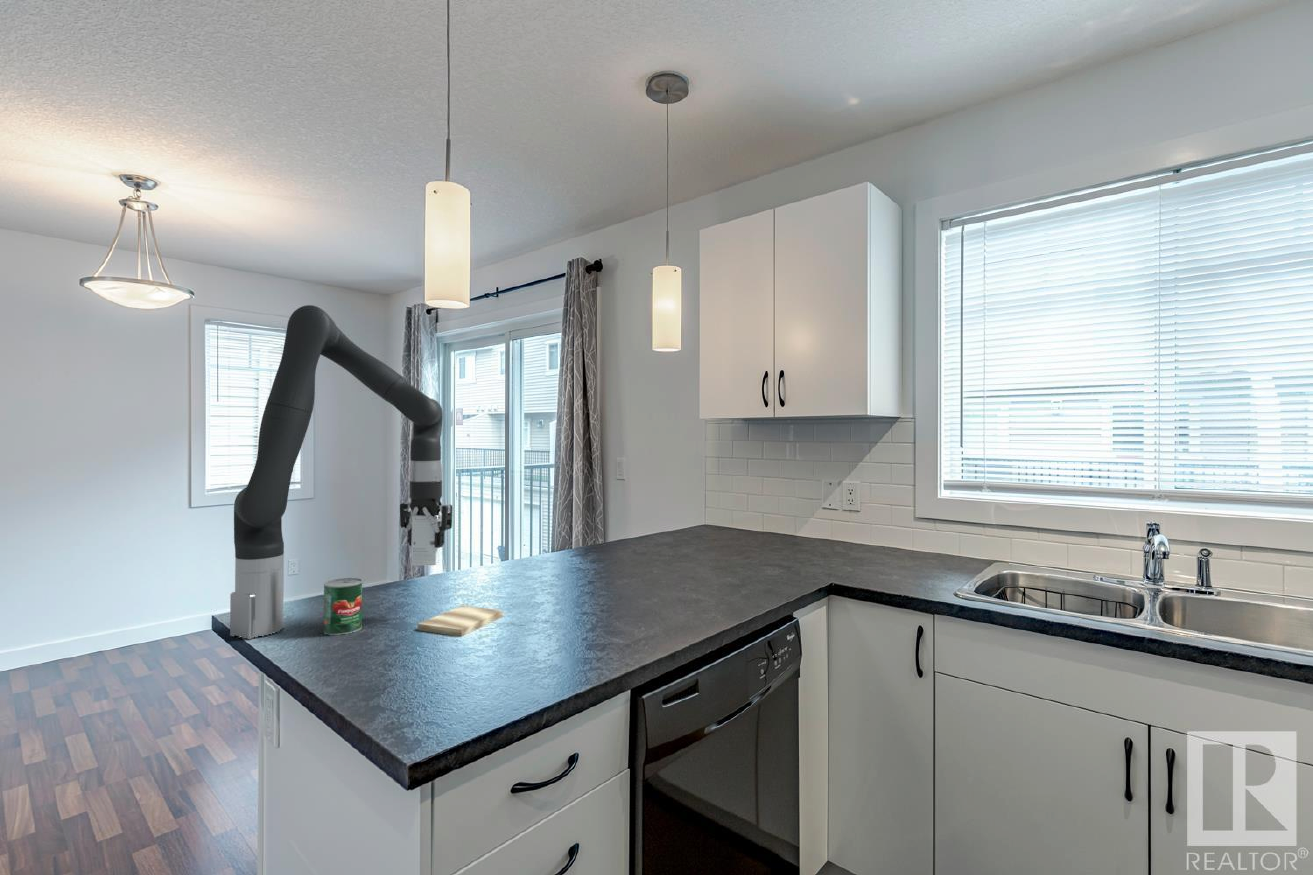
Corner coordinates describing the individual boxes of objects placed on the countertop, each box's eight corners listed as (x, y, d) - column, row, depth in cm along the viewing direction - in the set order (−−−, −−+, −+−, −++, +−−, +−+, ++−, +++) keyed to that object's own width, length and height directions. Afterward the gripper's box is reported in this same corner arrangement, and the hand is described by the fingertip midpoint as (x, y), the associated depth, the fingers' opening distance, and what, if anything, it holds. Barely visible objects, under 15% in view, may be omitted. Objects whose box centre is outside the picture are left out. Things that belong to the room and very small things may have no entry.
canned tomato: (345, 636, 136) (346, 587, 136) (315, 634, 137) (315, 585, 137) (369, 625, 144) (369, 578, 143) (340, 623, 145) (340, 577, 145)
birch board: (461, 636, 137) (461, 629, 137) (417, 630, 141) (417, 623, 141) (502, 616, 152) (502, 610, 152) (462, 611, 156) (462, 605, 156)
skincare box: (410, 566, 148) (410, 516, 147) (414, 562, 152) (414, 513, 152) (437, 565, 149) (437, 515, 148) (440, 561, 153) (440, 513, 153)
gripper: (391, 479, 149) (391, 547, 149) (440, 481, 144) (440, 551, 144) (412, 477, 156) (412, 542, 156) (460, 478, 151) (460, 545, 151)
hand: (426, 546), depth 150 cm, fingers closed on skincare box, 7 cm apart
